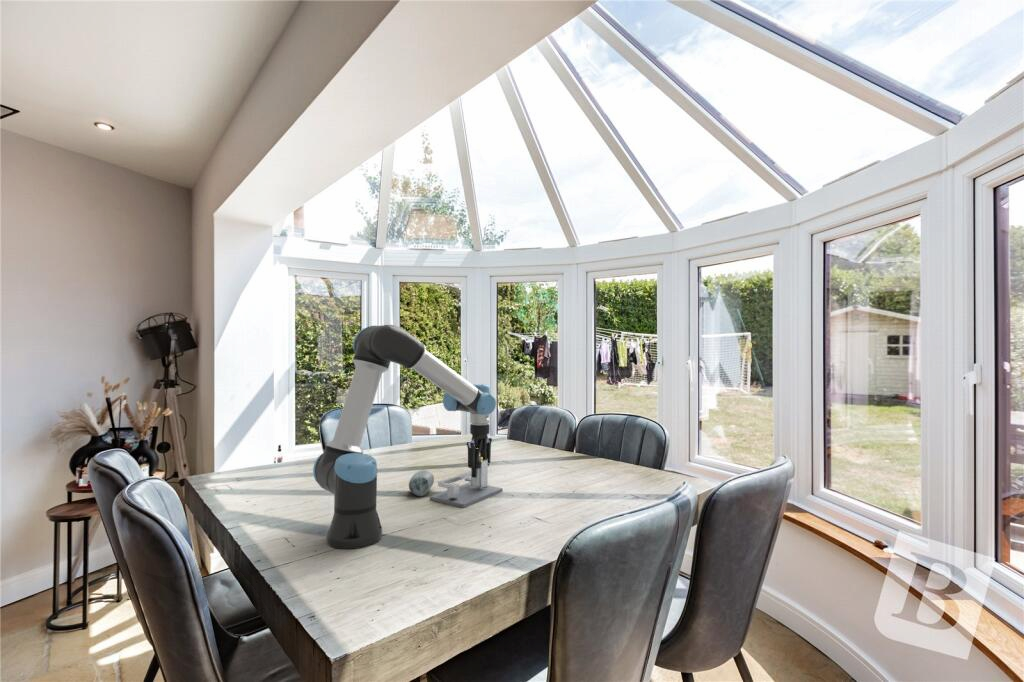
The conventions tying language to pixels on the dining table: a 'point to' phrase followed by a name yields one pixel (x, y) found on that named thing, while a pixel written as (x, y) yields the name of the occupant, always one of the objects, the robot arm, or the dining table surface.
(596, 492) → the dining table surface
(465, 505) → the flange plate
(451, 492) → the dividers frame
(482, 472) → the post
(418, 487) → the grey rounded oval lump
